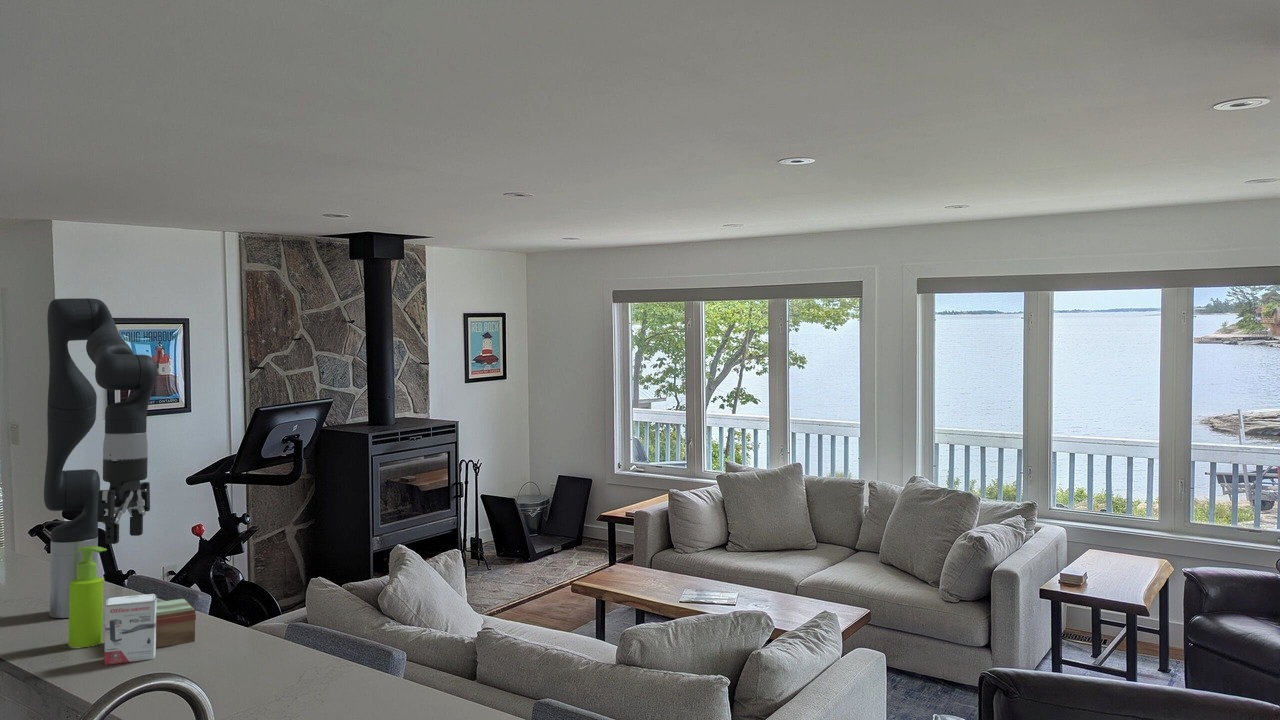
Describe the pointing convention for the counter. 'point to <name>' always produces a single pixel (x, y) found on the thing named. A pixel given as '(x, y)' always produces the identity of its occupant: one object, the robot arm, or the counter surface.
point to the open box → (174, 623)
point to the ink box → (130, 628)
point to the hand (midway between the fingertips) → (124, 539)
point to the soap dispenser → (86, 602)
